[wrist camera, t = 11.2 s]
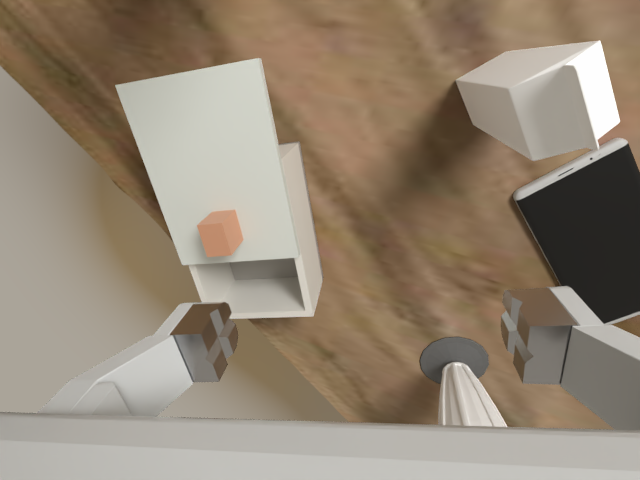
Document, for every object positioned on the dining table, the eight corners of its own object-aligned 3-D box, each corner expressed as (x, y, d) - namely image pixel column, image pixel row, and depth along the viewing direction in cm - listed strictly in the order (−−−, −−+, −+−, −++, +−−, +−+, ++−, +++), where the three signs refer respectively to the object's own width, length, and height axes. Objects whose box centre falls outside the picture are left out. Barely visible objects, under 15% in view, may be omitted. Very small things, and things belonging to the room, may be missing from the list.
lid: (121, 84, 37) (86, 87, 33) (261, 58, 34) (243, 57, 30) (185, 261, 47) (165, 281, 42) (300, 253, 43) (291, 274, 39)
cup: (502, 351, 58) (564, 491, 39) (466, 393, 63) (504, 534, 44) (439, 327, 58) (471, 455, 39) (408, 371, 63) (422, 503, 44)
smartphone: (581, 327, 55) (587, 334, 53) (508, 191, 47) (513, 196, 45) (681, 291, 50) (690, 298, 48) (618, 133, 42) (627, 136, 40)
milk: (505, 51, 39) (635, 32, 20) (522, 100, 41) (655, 128, 22) (453, 80, 41) (524, 90, 22) (471, 126, 43) (551, 173, 24)
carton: (193, 154, 50) (154, 172, 42) (299, 140, 47) (281, 156, 38) (232, 282, 60) (208, 319, 51) (323, 277, 57) (313, 316, 48)
